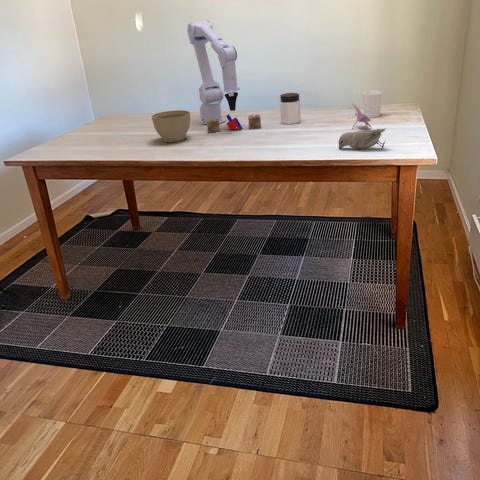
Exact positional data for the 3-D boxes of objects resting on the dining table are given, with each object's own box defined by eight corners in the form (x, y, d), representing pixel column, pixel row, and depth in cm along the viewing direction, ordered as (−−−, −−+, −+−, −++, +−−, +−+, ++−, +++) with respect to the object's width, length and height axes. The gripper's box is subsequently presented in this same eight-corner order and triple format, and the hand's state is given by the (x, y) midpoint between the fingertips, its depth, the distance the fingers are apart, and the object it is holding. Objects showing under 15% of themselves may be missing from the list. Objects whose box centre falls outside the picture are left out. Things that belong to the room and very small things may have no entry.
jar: (304, 121, 220) (303, 93, 215) (291, 125, 216) (290, 97, 211) (290, 119, 227) (289, 92, 222) (277, 122, 222) (275, 95, 217)
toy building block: (234, 132, 221) (225, 116, 219) (242, 127, 219) (232, 111, 217) (232, 134, 218) (222, 118, 216) (240, 129, 216) (230, 113, 214)
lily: (369, 136, 194) (379, 112, 191) (341, 124, 195) (351, 101, 193) (367, 137, 205) (378, 115, 203) (341, 126, 207) (351, 104, 205)
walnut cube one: (249, 129, 216) (248, 117, 214) (249, 127, 221) (248, 115, 218) (261, 128, 216) (260, 116, 214) (260, 125, 221) (259, 114, 218)
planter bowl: (187, 144, 203) (183, 117, 198) (150, 145, 206) (145, 119, 202) (197, 134, 217) (194, 109, 212) (163, 135, 220) (159, 110, 216)
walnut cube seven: (208, 133, 216) (206, 121, 214) (208, 130, 221) (207, 119, 219) (219, 132, 216) (218, 120, 214) (219, 129, 221) (218, 118, 219)
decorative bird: (339, 147, 181) (339, 126, 177) (385, 147, 176) (386, 126, 172) (337, 151, 176) (337, 130, 173) (384, 152, 171) (385, 130, 168)
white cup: (358, 116, 220) (359, 93, 216) (373, 113, 223) (373, 90, 218) (370, 119, 214) (370, 95, 209) (384, 115, 216) (385, 92, 212)
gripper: (239, 79, 202) (242, 112, 208) (238, 74, 215) (241, 106, 221) (222, 81, 202) (225, 114, 208) (222, 76, 215) (225, 107, 221)
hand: (232, 110), depth 215 cm, fingers closed
